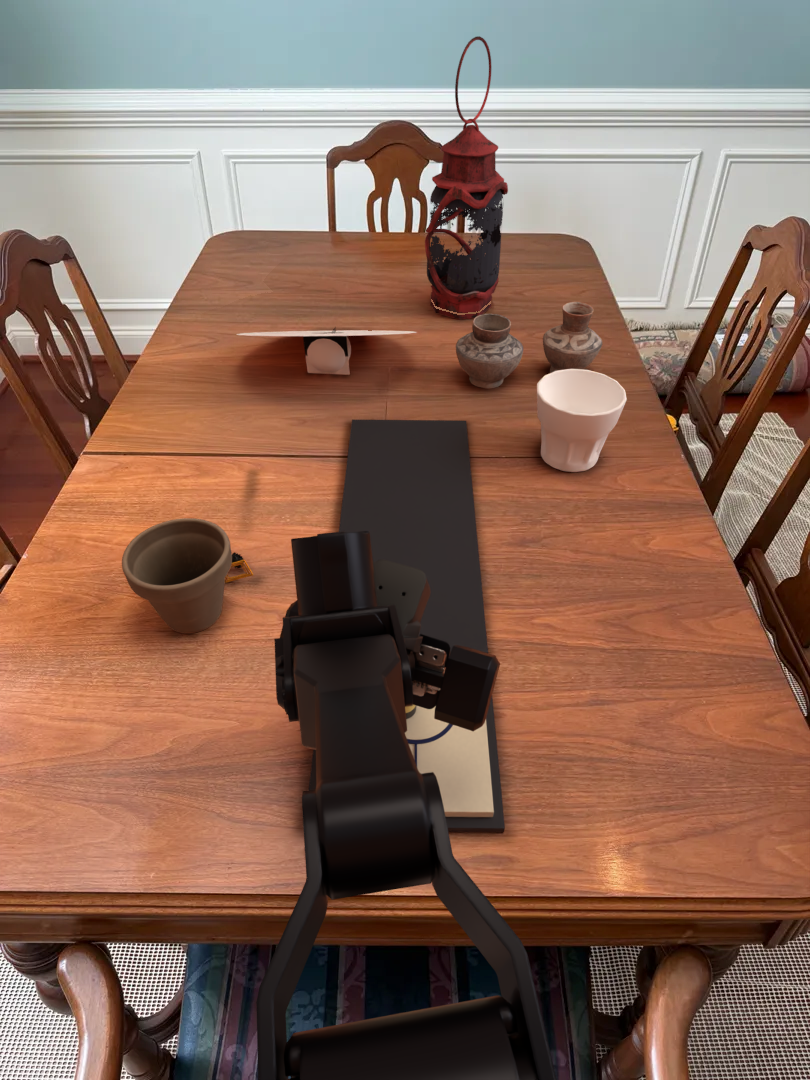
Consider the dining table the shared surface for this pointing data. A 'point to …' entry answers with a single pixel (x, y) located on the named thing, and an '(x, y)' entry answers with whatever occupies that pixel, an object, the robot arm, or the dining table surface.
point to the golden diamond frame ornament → (238, 563)
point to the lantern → (467, 187)
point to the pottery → (500, 353)
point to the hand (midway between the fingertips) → (408, 653)
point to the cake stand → (327, 347)
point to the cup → (577, 416)
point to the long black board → (431, 585)
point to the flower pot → (180, 571)
